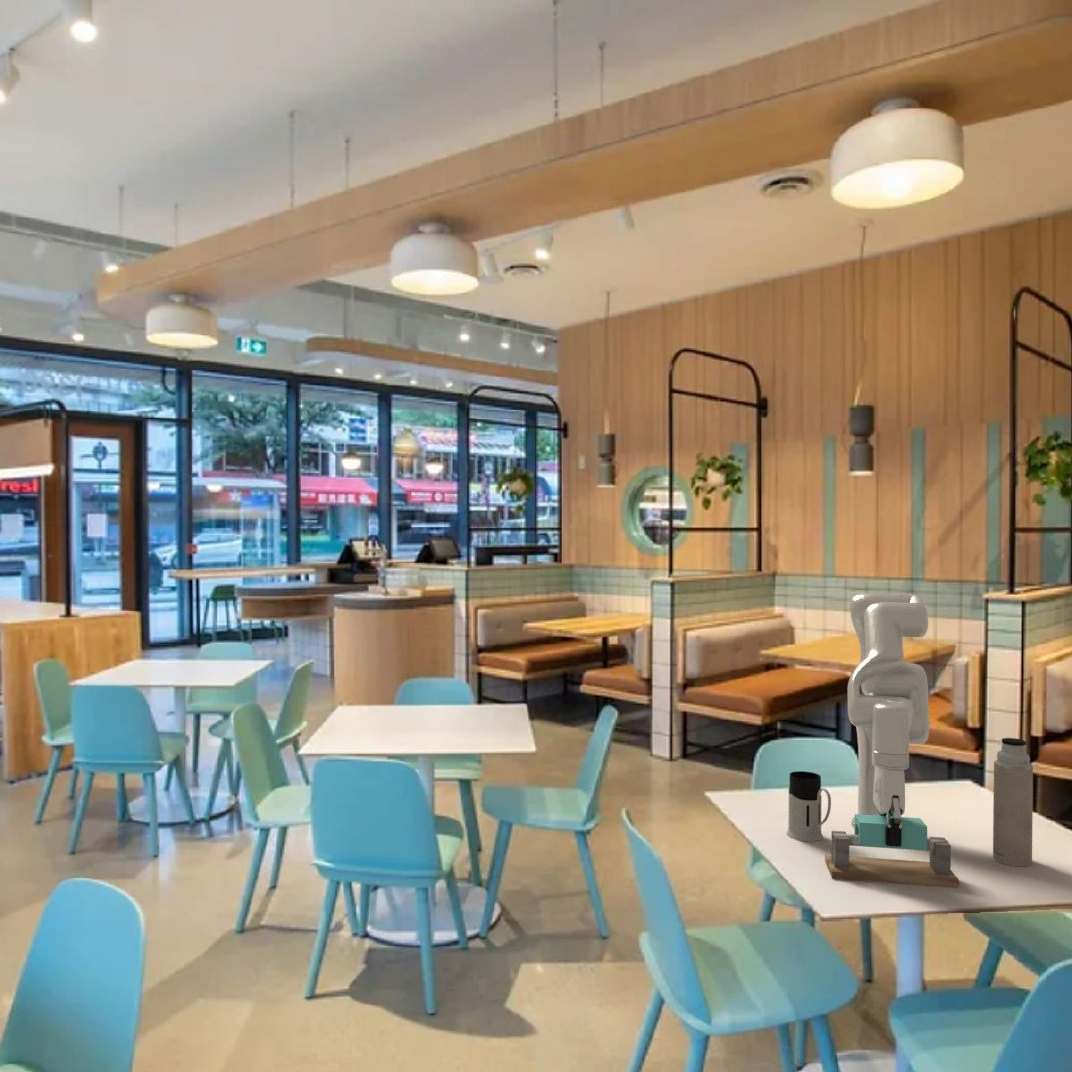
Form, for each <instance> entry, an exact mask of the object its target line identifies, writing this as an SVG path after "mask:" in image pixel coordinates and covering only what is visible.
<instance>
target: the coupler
mask: <svg viewBox="0 0 1072 1072" xmlns="http://www.w3.org/2000/svg"><path fill="white" fill-rule="evenodd" d="M854 817H855V822H854V826H853V828H854V830H853V831H854V833H853V835H859V846H858V847H863V848H864V847H867V848H879V849H881V848H882V849H897V850H910V851H922V852H923V851H924V852H928V851H927V839H928V826H927V824H926V823H925V822H924V821H923V819H921V818H920V817H908V816H901V828H902V838H901V846H900V847H896V846H887V845H886V844H885V832H886V827H887V817H886V816H876V815H860V814H858V813H857V814H856V813H855V814H854ZM891 818H893V816H890V821H891Z"/></svg>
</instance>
